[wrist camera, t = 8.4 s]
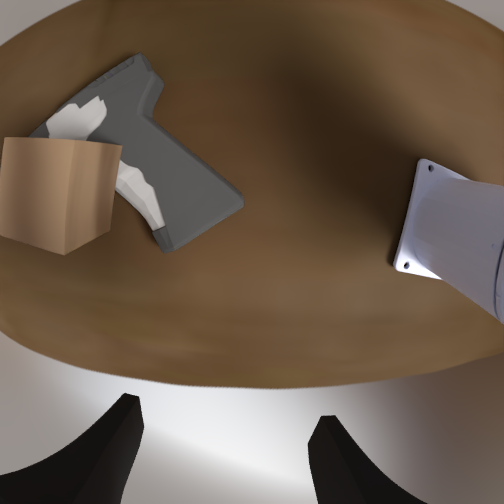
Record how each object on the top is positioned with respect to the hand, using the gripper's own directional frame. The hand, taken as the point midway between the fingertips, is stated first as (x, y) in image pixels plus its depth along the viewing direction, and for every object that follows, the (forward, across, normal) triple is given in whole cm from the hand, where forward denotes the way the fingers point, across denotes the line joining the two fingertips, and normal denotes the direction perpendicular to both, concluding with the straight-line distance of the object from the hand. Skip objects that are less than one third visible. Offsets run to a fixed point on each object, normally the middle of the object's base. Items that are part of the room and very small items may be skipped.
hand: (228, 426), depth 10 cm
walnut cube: (+8, +10, -8) cm, 15 cm away
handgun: (+11, +11, -7) cm, 17 cm away
